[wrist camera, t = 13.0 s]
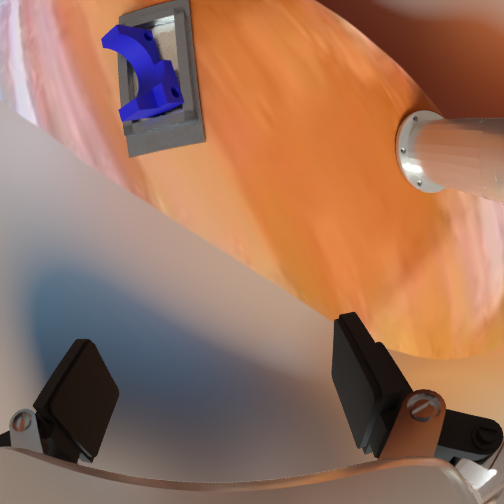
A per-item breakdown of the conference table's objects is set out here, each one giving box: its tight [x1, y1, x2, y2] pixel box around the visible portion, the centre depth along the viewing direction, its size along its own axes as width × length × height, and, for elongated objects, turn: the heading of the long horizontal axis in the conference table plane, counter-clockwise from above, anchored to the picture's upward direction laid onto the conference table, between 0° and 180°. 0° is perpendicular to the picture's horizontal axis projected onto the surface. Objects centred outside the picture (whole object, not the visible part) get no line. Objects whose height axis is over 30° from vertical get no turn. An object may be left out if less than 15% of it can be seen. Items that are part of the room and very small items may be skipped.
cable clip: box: [101, 25, 184, 122], centre depth 25 cm, size 12×4×6 cm, turn 17°
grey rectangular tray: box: [118, 0, 205, 158], centre depth 28 cm, size 10×22×3 cm, turn 7°
